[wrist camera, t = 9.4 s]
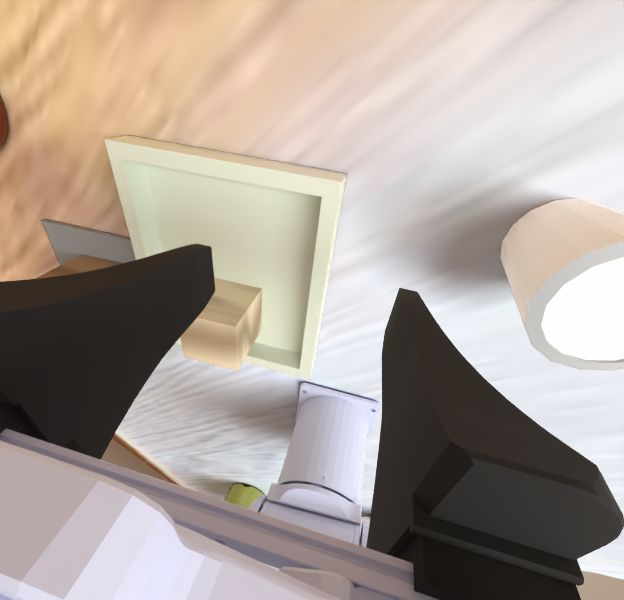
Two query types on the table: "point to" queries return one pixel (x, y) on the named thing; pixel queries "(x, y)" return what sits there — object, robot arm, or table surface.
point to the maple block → (225, 326)
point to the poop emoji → (3, 123)
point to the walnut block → (80, 266)
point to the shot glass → (570, 281)
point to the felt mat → (86, 243)
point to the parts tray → (240, 231)
